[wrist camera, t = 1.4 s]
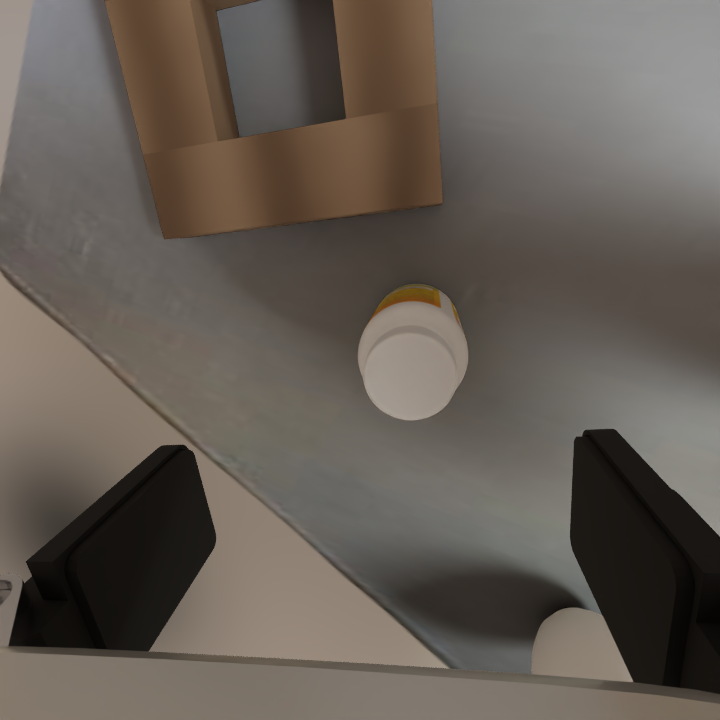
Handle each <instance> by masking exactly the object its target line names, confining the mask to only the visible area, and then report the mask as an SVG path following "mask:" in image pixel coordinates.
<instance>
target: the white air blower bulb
mask: <svg viewBox="0 0 720 720" xmlns="http://www.w3.org/2000/svg"><path fill="white" fill-rule="evenodd" d="M531 669H532V674H537V675H549V676H562V677H574V678H587V679H599V680H611V681H624V682H633V680H632V678H631V676H630V674H629V671H628V669H627V667H626V665H625V663H624V661H623V658H622V656H621V654H620V652H619V650H618V648H617V645H616V643H615V641H614V639H613V637H612V635H611V632H610V630H609V628H608V626H607V624H606V622H605V620H604V617H603V616H602V615H600V614H598V613H596V612H594V611H589V610H584V609H581V608H565V609H561V610H559V611H557V612H555V613H554V614H552V615H551V616H549V617H548V618H547V619H545V620H544V621H543V623H542V624H541V625H540V627H539V630H538V632H537V635H536V638H535V641H534V645H533V652H532V668H531Z"/></svg>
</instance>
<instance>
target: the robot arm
mask: <svg viewBox="0 0 720 720" xmlns="http://www.w3.org/2000/svg"><path fill="white" fill-rule="evenodd" d="M570 540H571V546H572V550H573V552H574V555H575V557H576V559H577V561H578V563H579V566H580V568H581V570H582V572H583V574H584V576H585V579H586V581H587V583H588V585H589V587H590V589H591V591H592V594H593V596H594V598H595V600H596V602H597V604H598V607H599V609H600V611H601V613H602V615H603V617H604V620H605V622H606V624H607V626H608V628H609V630H610V632H611V635H612V637H613V639H614V641H615V643H616V645H617V648H618V650H619V652H620V654H621V656H622V658H623V661H624V663H625V665H626V667H627V669H628V671H629V674H630V676H631V678H632V680H633V682H624V681H611V680H599V679H587V678H574V677H562V676H549V675H537V674H525V673H509V672H493V671H478V670H462V669H446V668H445V669H444V668H430V667H414V666H398V665H382V664H381V665H380V664H365V663H349V662H331V661H314V660H297V659H280V658H262V657H261V658H260V657H244V656H243V657H242V656H226V655H206V654H188V653H187V654H186V653H167V652H148V651H149V650H150V648H151V647H152V645H153V644H154V642H155V640H156V639H157V637H158V636H159V634H160V632H161V631H162V629H163V628H164V626H165V625H166V623H167V622H168V620H169V618H170V617H171V615H172V614H173V612H174V611H175V609H176V607H177V606H178V604H179V603H180V601H181V599H182V598H183V596H184V595H185V593H186V592H187V590H188V588H189V587H190V585H191V584H192V582H193V581H194V579H195V577H196V576H197V574H198V572H199V571H200V569H201V568H202V566H203V565H204V563H205V562H206V560H207V558H208V557H209V555H210V554H211V552H212V550H213V549H214V546H215V543H216V533H215V529H214V525H213V522H212V518H211V514H210V510H209V507H208V503H207V499H206V496H205V492H204V488H203V485H202V481H201V477H200V473H199V470H198V466H197V462H196V459H195V455H194V453H193V452H192V451H191V450H189V449H188V448H187V447H186V446H185V445H164V446H161V447H159V448H158V449H157V450H155V451H154V452H153V453H152V454H151V455H150V456H148V457H147V458H146V459H145V460H144V461H142V462H141V463H140V464H139V465H138V466H137V467H135V468H134V469H133V470H132V471H131V472H130V473H128V474H127V475H126V476H125V477H124V478H123V479H121V480H120V481H119V482H118V483H117V484H116V485H114V486H113V487H112V488H111V489H110V490H109V491H107V492H106V493H105V494H104V495H103V496H102V497H100V498H99V499H98V500H97V501H96V502H95V503H94V504H93V505H91V506H90V507H89V508H88V509H87V510H86V511H84V512H83V513H82V514H81V515H79V516H78V517H77V518H76V519H75V520H74V521H73V522H71V523H70V524H69V525H68V526H67V527H66V528H65V529H63V530H62V531H61V532H60V533H59V534H57V535H56V536H55V537H54V538H53V539H52V540H50V541H49V542H48V543H47V544H46V545H45V546H44V547H42V548H41V549H40V550H39V551H38V552H37V553H35V554H34V555H33V556H32V557H31V558H29V559H28V560H27V561H26V563H27V565H28V568H29V570H30V572H31V574H32V577H31V578H30V579H29V580H28V581H27V582H25V583H24V582H23V580H22V578H21V577H20V576H19V575H17V574H10V573H8V574H2V575H0V720H720V537H719V535H718V534H717V533H716V532H715V531H714V530H713V529H712V528H711V527H710V526H709V525H708V524H707V523H706V522H705V521H704V520H703V519H702V518H701V517H700V516H699V514H698V513H697V512H696V511H695V510H694V509H693V508H692V507H691V506H690V505H689V504H688V503H687V502H686V501H685V500H684V499H683V498H682V497H681V496H680V495H679V494H678V493H677V492H676V491H674V490H672V489H671V488H670V487H669V486H668V485H667V484H666V483H665V482H664V481H663V480H662V479H661V478H660V477H659V476H658V474H657V473H656V472H655V471H654V470H653V469H652V468H651V467H650V466H649V465H648V464H647V463H646V462H645V461H644V460H643V459H642V457H641V456H640V455H639V454H638V453H637V452H636V451H635V450H634V449H633V448H632V447H631V446H630V445H629V444H628V443H627V442H626V440H625V439H624V438H623V437H622V436H621V435H620V434H619V433H618V432H617V431H616V430H614V429H597V430H585V431H584V432H583V435H582V437H576V438H575V440H574V456H573V479H572V502H571V524H570Z"/></svg>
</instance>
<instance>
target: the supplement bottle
mask: <svg viewBox="0 0 720 720" xmlns="http://www.w3.org/2000/svg"><path fill="white" fill-rule="evenodd" d="M358 364H359V368H360V372H361V375H362V377H363V381H364V386H365V389H366V392H367V394H368V396H369V398H370V399H371V401H372V402H373V403H374V404H375V405H376V406H377V407H378V408H379V409H380V410H381V411H383V412H384V413H386V414H388V415H390V416H392V417H395V418H398V419H402V420H420V419H425V418H428V417H430V416H433V415H434V414H436V413H438V412H439V411H441V410H442V409H443V408H444V407H445V406H446V405H447V404H448V403H449V401H450V400H451V398H452V396H453V395H454V392H455V390H456V389H457V388H458V386H459V385H460V383H461V382H462V380H463V377H464V375H465V372H466V369H467V365H468V347H467V341H466V337H465V335H464V332H463V329H462V325H461V322H460V319H459V316H458V313H457V310H456V308H455V306H454V305H453V303H452V302H451V300H450V299H449V298H448V297H447V296H446V295H445V294H444V293H443V292H441V291H440V290H438V289H436V288H434V287H432V286H429V285H424V284H409V285H404V286H401V287H399V288H397V289H395V290H393V291H392V292H390V293H389V294H388V295H387V296H386V297H385V298H384V299H383V300H382V301H381V302H380V304H379V305H378V307H377V309H376V310H375V312H374V314H373V316H372V317H371V319H370V321H369V322H368V324H367V326H366V327H365V329H364V331H363V334H362V336H361V339H360V343H359V347H358Z"/></svg>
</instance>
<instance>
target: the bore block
mask: <svg viewBox="0 0 720 720" xmlns="http://www.w3.org/2000/svg"><path fill="white" fill-rule="evenodd" d="M255 1H259V0H105V4H106V8H107V12H108V16H109V20H110V24H111V28H112V33H113V37H114V41H115V45H116V49H117V53H118V57H119V61H120V65H121V69H122V73H123V77H124V81H125V85H126V89H127V93H128V97H129V101H130V105H131V109H132V113H133V117H134V121H135V125H136V129H137V133H138V137H139V141H140V145H141V149H142V153H143V157H144V161H145V165H146V169H147V173H148V177H149V181H150V185H151V189H152V193H153V197H154V201H155V205H156V209H157V213H158V217H159V221H160V225H161V229H162V233H163V237H164V239H174V238H190V237H199V236H206V235H214V234H222V233H230V232H237V231H245V230H253V229H260V228H268V227H276V226H283V225H291V224H299V223H306V222H314V221H322V220H330V219H337V218H345V217H353V216H360V215H368V214H376V213H383V212H391V211H399V210H406V209H414V208H422V207H429V206H437V205H442V203H443V196H442V177H441V159H440V140H439V121H438V102H437V83H436V65H435V46H434V27H433V8H432V0H333V7H334V16H335V25H336V34H337V43H338V52H339V61H340V69H341V78H342V87H343V96H344V105H345V114H346V119H343V120H338V121H332V122H326V123H320V124H315V125H309V126H303V127H298V128H292V129H286V130H281V131H275V132H269V133H264V134H258V135H252V136H246V137H241V138H239V133H238V127H237V122H236V116H235V111H234V106H233V100H232V95H231V89H230V84H229V78H228V73H227V67H226V62H225V57H224V51H223V46H222V40H221V35H220V29H219V24H218V18H217V13H216V11H217V10H221V9H225V8H230V7H234V6H238V5H242V4H246V3H250V2H255Z"/></svg>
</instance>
